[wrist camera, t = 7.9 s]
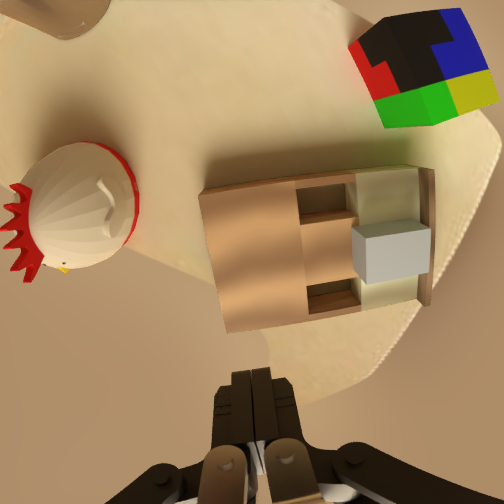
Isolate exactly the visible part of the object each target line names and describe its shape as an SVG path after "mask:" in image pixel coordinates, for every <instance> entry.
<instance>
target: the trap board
mask: <svg viewBox="0 0 504 504" xmlns="http://www.w3.org/2000/svg"><path fill="white" fill-rule="evenodd" d="M340 183H344V186H345V196H346V208H347V209H342V210H335V211H327V212H320V213H313V214H306V215H299V212H298V204H297V196H296V189H300V188H308V187H316V186H324V185H332V184H340ZM198 199H199V204H200V209H201V214H202V219H203V225H204V230H205V235H206V240H207V245H208V250H209V254H210V259H211V264H212V269H213V273H214V278H215V283H216V287H217V292H218V297H219V301H220V306H221V310H222V314H223V319H224V323H225V328H226V332H227V334H228V333H235V332H243V331H250V330H257V329H264V328H271V327H277V326H283V325H290V324H296V323H302V322H307V321H313V320H319V319H324V318H330V317H335V316H340V315H345V314H350V313H355V312H360V311H365V310H370V309H374V308H379V307H383V306H388V305H392V304H397V303H401V302H405V301H409V300H414V299H417V300H418V301H419V302H420V303H421V304H422V305H423V306H429V305H430V300H431V292H432V282H433V269H434V253H435V174H434V170H433V169H428V168H422V167H417V166H411V165H396V166H383V167H371V168H360V169H350V170H340V171H331V172H322V173H314V174H306V175H298V176H290V177H283V178H276V179H269V180H262V181H255V182H248V183H242V184H236V185H230V186H224V187H218V188H212V189H206V190H203V191H202V192H201V193H200V194H199V195H198ZM405 219H413V220H415V221H417V222H419V223H421V224H423V225H425V226H427V227H429V228H431V246H430V265H429V272H428V273H424V274H419V275H414V276H409V277H405V278H400V279H395V280H390V281H385V282H380V283H375V284H369V285H366V284H365V283H364V282H363V280H362V279H361V278H360V277H359V275H358V274H357V273H356V272H355V271H354V270H353V252H352V231H351V227H355V226H362V225H369V224H376V223H383V222H391V221H398V220H405ZM349 278H350V283H351V290H346V291H340V292H335V293H329V294H324V295H318V296H312V297H307V289H306V286H308V285H314V284H320V283H326V282H332V281H338V280H343V279H349Z"/></svg>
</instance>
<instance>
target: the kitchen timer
mask: <svg viewBox="0 0 504 504" xmlns="http://www.w3.org/2000/svg"><path fill="white" fill-rule="evenodd" d="M9 186H10V188H11V189H13V190H14V191H16V193H15V194H14V196H13V203H10V204H5V205H4V206H3V207H4V208H5V209H6V210H8V211H10V212H12V213H11V218H12V219H11V220H10V221H9V222H7V223H6V224H4V225H3V226H2V227H1V228H0V231H12V230H13V231H14V234H15V238H14V239H12V240H11V241H10V242H9V243H8V244H6V245H5V246H4V247H3V249H14V248H21V254H20V256H19V257H18V259H17V260H16V261H15V263H14V264H13V266H12V267H11V269H10V271H20V270H21V269H23V268H25V267H26V273H25V276H24V280H23V282H24V283H31V282H32V280H33V279H34V277H35V275H36V273H37V271H38V269H39V267H40V264H43V265H45V266H46V265H47V266H50V267H54V268H58V269H60V270H61V271H63V272H64V273H67V272H68V271H69V269H70V268H81V267H86V266H91V265H93V264H95V263H98V262H100V261H103V260H105V259H108V258H109V257H111V256H112V255H113V254H114V253H115V252H116V251H117V250H118V249H119V248H120V247H122V246H123V245H124V244H125V243H126V242H127V241H128V239H129V237H130V236H131V234H132V232H133V231H134V229H135V226H136V222H137V218H138V215H139V192H138V188H137V184H136V180H135V177H134V175H133V173H132V171H131V169H130V168H129V166H128V164H127V162H126V161H125V160H124V159H123V158H122V157H121V156H120V155H119V154H118V153H117V152H116V151H115V150H113V149H111V148H109V147H107V146H105V145H103V144H100V143H92V142H77V143H73V144H69V145H65V146H61V147H59V148H57V149H56V150H54V151H53V152H51V153H50V154H48V155H47V156H45V157H44V158H42V159H41V160H40V161H38V162H37V163H36V164H34V165H33V166H32V167H31V169H30V170H29V171H28V172H27V174H26V175H25V176H24V178H23V179H22V181H21V182H20V183H16V184H12V185H9Z"/></svg>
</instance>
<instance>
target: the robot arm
mask: <svg viewBox="0 0 504 504" xmlns="http://www.w3.org/2000/svg"><path fill="white" fill-rule="evenodd" d="M109 3H110V0H0V13H1V14H3V15H6V16H8V17H10V18H13V19H15V20H18V21H20V22H22V23H25V24H27V25H29V26H31V27H34V28H36V29H38V30H40V31H42V32H44V33H47V34H49V35H51V36H53V37H55V38H58V39H63V40H66V39H72V38H75V37H78V36H80V35H82V34H84V33H85V32H87V31H88V30H89V29H91V28H92V27H93V26H94V25H95V24H96V23H97V22H98V21H99V20H100V19H101V18H102V16H103V15H104V13H105V12H106V10H107V8H108V6H109ZM251 372H252V374H251ZM231 377H232V378H231V380H232V381H231V385H228V386H220V388H219V389H218V391H217V393H216V394H215V396H214V411H213V416H214V417H213V427H212V444H211V450H210V451H209V452H208V454H207V455H206V456H205V458H204V460H203V461H201V462H199V463H197V464H195V465H192V466H188V467H185V468H181V469H178V468H177V467H176V466H174V465H171V464H167V463H161V464H157V465H154V466H152V467H150V468H149V469H148V470H147V471H146V472H144V473H143V474H142V475H140V476H139V477H138V478H137V479H136V480H134V481H133V482H132V483H131V484H129V485H128V486H127V487H126V488H124V489H123V490H122V491H121V492H120V493H118V494H117V495H115V496H114V497H113V498H112V499H110V500H109V501H108V502H106V503H105V504H258V481H257V475H263V474H264V472H263V467H264V471H265V474H267V478H268V484H269V489H270V494H271V499H272V504H326V501H330V502H333V503H334V504H504V500H501V499H498V498H494V497H491V496H488V495H485V494H482V493H479V492H477V491H473V490H471V489H468V488H465V487H462V486H460V485H457V484H455V483H452V482H450V481H447V480H445V479H442V478H439V477H437V476H435V475H432V474H430V473H428V472H425V471H423V470H421V469H418V468H416V467H414V466H412V465H409V464H407V463H405V462H403V461H401V460H399V459H397V458H394V457H392V456H390V455H388V454H386V453H384V452H382V451H380V450H378V449H375V448H374V447H372V446H370V445H368V444H366V443H362V442H351V443H347V444H345V445H343V446H341V447H340V448H339V449H338V450H323V449H317V448H315V447H312V446H311V445H309V444H308V443H307V442H306V441H305V439H304V437H303V434H302V429H301V425H300V420H299V415H298V410H297V406H296V401H295V396H294V391H293V387H292V385H291V383H290V382H289V381H288V380H287V379H286V378H285V377H284V378H278V379H272V377H271V371H270V367H266V368H259V369H252V370H251V371H250V370H246V371H238V372H232V375H231Z"/></svg>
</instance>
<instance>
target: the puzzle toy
mask: <svg viewBox="0 0 504 504" xmlns="http://www.w3.org/2000/svg"><path fill="white" fill-rule="evenodd" d="M348 50H349V51H350V53H351V55H352V57H353V59H354V61H355V63H356V65H357V67H358V69H359V71H360V73H361V75H362V77H363V79H364V82H365V84H366V86H367V88H368V90H369V92H370V95H371V97H372V99H373V101H374V104H375V106H376V108H377V111H378V113H379V115H380V118H381V120H382V123H383V125H384V128H399V127H415V126H433V125H436V124H438V123H441V122H444V121H446V120H449V119H452V118H454V117H457V116H460V115H463V114H465V113H468V112H471V111H474V110H476V109H479V108H482V107H485V106H488V105H491V104H493V103H496V102H499V101H500V99H499V96H498V93H497V90H496V87H495V84H494V81H493V79H492V76H491V74H490V71H489V68H488V66H487V63H486V61H485V58H484V56H483V54H482V51H481V49H480V47H479V45H478V42H477V40H476V38H475V36H474V34H473V32H472V30H471V28H470V26H469V24H468V22H467V20H466V18H465V16H464V14H463V12H462V10H461V8H451V9H439V10H430V11H422V12H414V13H408V14H401V15H396V16H390V17H384V18H383V19H381V20H380V21H379V22H378V23H376V24H375V25H374V26H373V27H372V28H370V29H369V30H368V31H367V32H366V33H364V34H363V35H362V36H361V37H360V38H359V39H357V40H356V41H355V42H354V43H353V44H352V45H350V46H349V47H348Z"/></svg>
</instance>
